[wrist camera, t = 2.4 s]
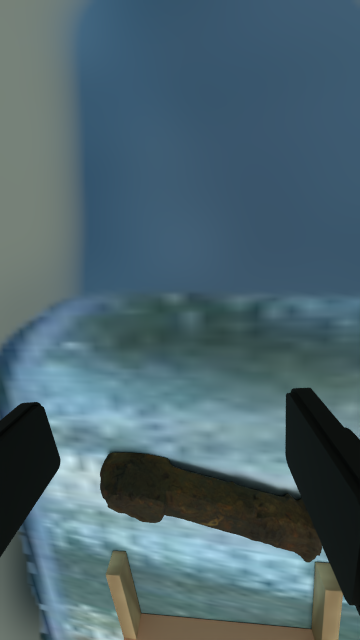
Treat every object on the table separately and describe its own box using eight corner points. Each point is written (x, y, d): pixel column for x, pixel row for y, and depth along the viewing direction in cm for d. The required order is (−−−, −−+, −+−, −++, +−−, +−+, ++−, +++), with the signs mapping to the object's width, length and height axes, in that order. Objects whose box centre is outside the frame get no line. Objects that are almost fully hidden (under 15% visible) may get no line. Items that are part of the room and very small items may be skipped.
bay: (331, 563, 23) (343, 591, 21) (325, 630, 25) (335, 661, 23) (113, 551, 26) (105, 574, 24) (129, 612, 28) (124, 638, 26)
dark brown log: (310, 490, 21) (339, 553, 16) (292, 519, 22) (315, 585, 18) (116, 427, 21) (93, 471, 17) (108, 458, 22) (85, 508, 18)
